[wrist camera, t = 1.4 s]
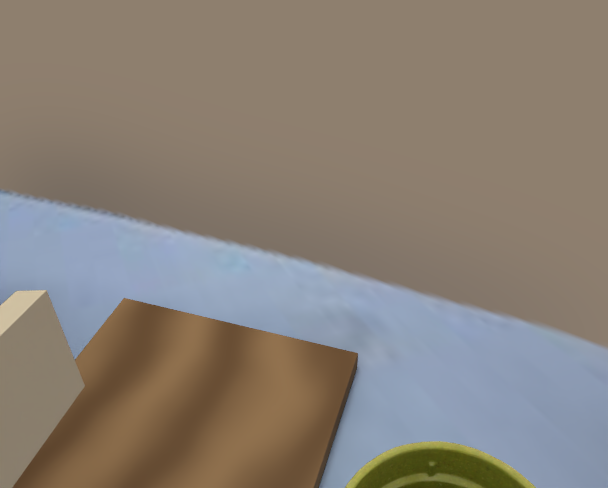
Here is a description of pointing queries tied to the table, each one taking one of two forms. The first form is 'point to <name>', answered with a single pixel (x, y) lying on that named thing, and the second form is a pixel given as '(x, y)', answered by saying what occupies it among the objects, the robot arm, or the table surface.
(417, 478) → the plant pot
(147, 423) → the walnut board
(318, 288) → the table surface
